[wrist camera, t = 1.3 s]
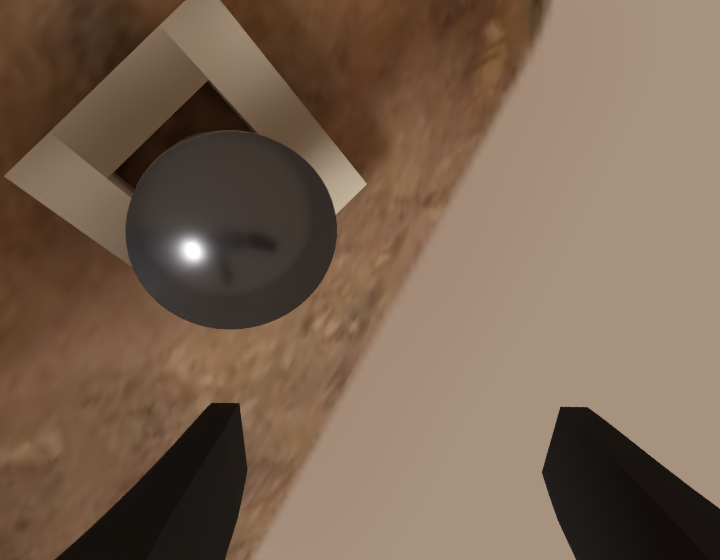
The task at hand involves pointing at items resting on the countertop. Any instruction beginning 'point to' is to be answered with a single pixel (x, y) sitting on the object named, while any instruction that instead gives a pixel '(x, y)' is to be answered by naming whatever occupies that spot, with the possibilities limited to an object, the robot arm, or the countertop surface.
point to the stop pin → (230, 229)
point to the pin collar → (155, 106)
